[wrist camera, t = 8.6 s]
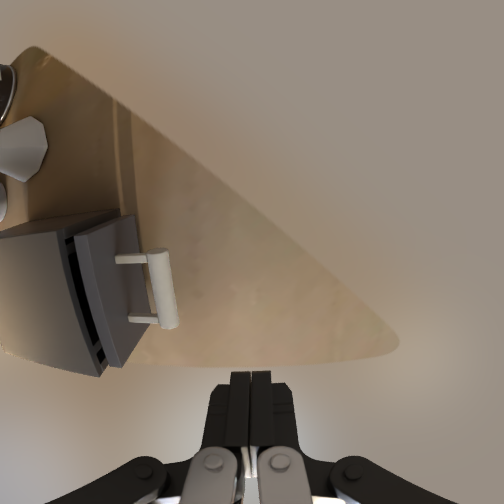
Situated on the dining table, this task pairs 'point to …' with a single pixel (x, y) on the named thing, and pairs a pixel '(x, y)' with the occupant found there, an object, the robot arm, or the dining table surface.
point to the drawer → (119, 286)
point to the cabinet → (46, 294)
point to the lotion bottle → (2, 202)
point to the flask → (22, 148)
